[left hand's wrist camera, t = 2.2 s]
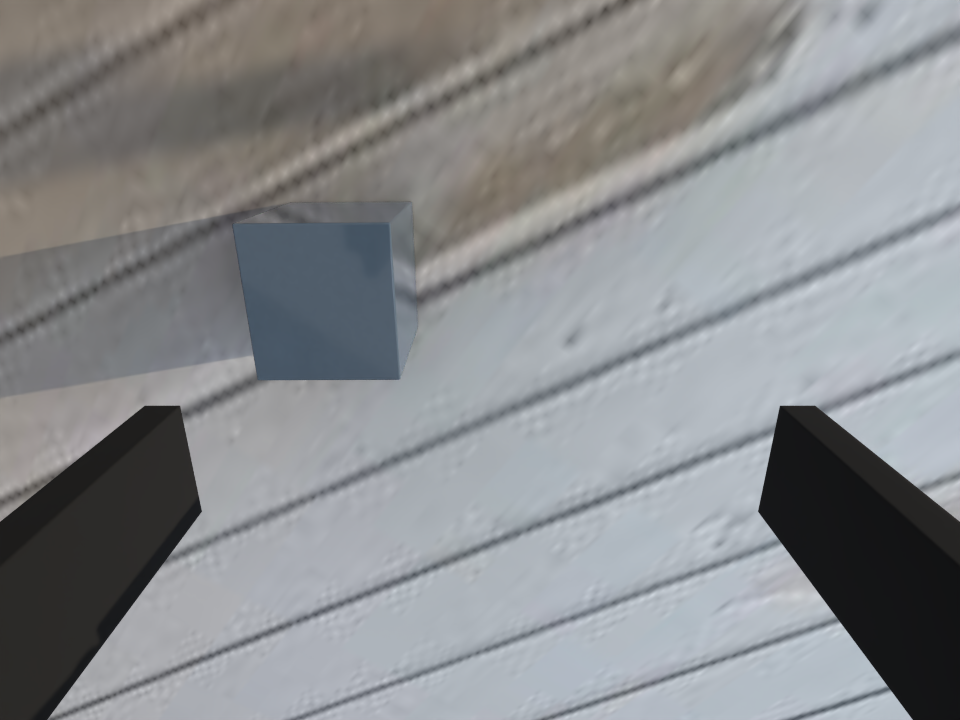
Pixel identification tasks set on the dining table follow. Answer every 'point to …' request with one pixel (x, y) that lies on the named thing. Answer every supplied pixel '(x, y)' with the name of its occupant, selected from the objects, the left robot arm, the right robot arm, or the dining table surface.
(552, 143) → the dining table surface
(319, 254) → the cube
